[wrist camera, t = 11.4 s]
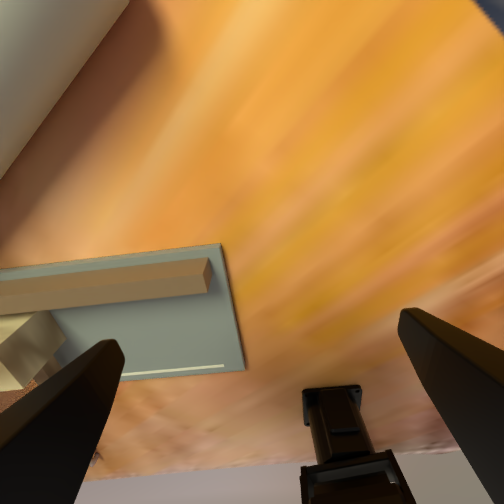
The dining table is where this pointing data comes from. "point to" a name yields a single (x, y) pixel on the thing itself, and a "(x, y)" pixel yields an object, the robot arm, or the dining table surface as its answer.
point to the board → (137, 309)
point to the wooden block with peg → (28, 348)
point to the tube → (43, 60)
